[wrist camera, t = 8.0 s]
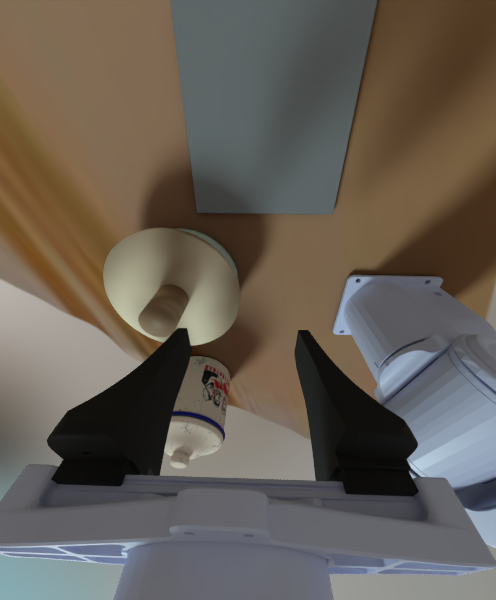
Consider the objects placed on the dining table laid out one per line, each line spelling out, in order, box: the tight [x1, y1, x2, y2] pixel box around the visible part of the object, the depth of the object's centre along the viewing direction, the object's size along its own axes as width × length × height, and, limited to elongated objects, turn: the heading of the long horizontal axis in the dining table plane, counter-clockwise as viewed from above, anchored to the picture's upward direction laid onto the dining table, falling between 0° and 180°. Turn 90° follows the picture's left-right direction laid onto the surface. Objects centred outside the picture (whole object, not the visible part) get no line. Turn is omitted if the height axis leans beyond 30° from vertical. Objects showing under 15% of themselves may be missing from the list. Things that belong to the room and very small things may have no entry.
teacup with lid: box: [164, 356, 230, 468], centre depth 27 cm, size 12×9×12 cm
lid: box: [103, 227, 240, 346], centre depth 18 cm, size 12×12×4 cm
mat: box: [170, 0, 377, 214], centre depth 16 cm, size 12×12×1 cm
